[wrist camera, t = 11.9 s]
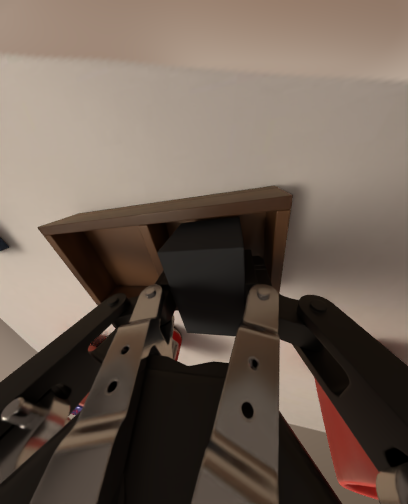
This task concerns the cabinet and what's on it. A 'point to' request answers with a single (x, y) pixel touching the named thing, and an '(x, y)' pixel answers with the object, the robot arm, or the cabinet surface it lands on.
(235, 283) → the black rectangular block
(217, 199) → the wooden divided tray
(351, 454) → the flower pot
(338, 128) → the cabinet surface
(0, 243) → the blue block
